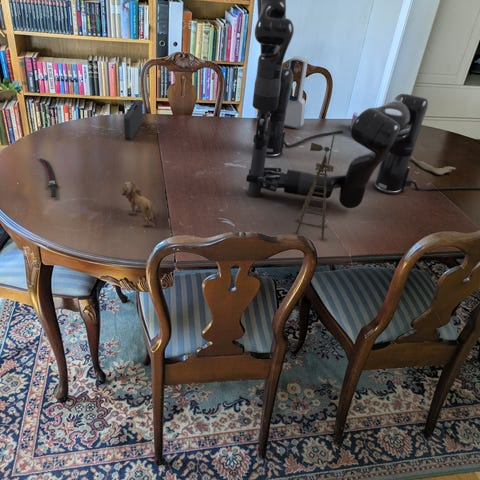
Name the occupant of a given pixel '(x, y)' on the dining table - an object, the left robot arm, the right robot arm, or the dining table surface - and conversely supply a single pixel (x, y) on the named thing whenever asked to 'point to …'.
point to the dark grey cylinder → (257, 169)
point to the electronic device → (296, 104)
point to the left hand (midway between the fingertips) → (260, 144)
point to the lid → (264, 140)
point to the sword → (52, 181)
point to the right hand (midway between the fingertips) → (248, 174)
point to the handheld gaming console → (133, 119)
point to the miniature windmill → (320, 169)
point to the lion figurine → (137, 201)
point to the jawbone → (432, 169)
